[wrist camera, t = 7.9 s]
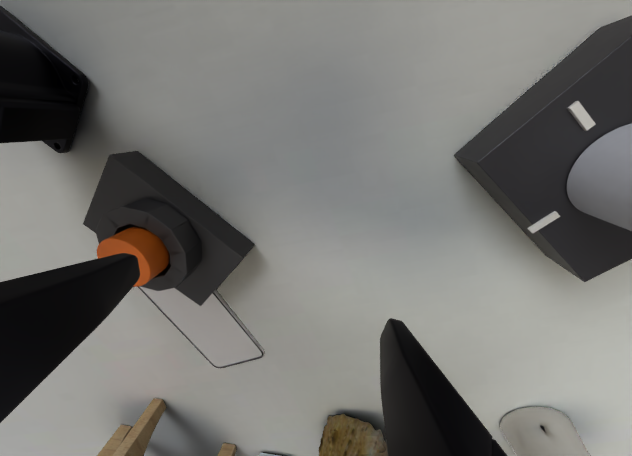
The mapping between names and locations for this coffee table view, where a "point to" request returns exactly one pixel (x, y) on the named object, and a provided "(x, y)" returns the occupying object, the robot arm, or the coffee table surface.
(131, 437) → the planter
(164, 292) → the smartphone
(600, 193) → the timer knob
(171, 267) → the button block
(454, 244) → the coffee table surface
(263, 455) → the skincare box
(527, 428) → the beer glass
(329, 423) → the seashell
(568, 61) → the timer panel
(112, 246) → the button
